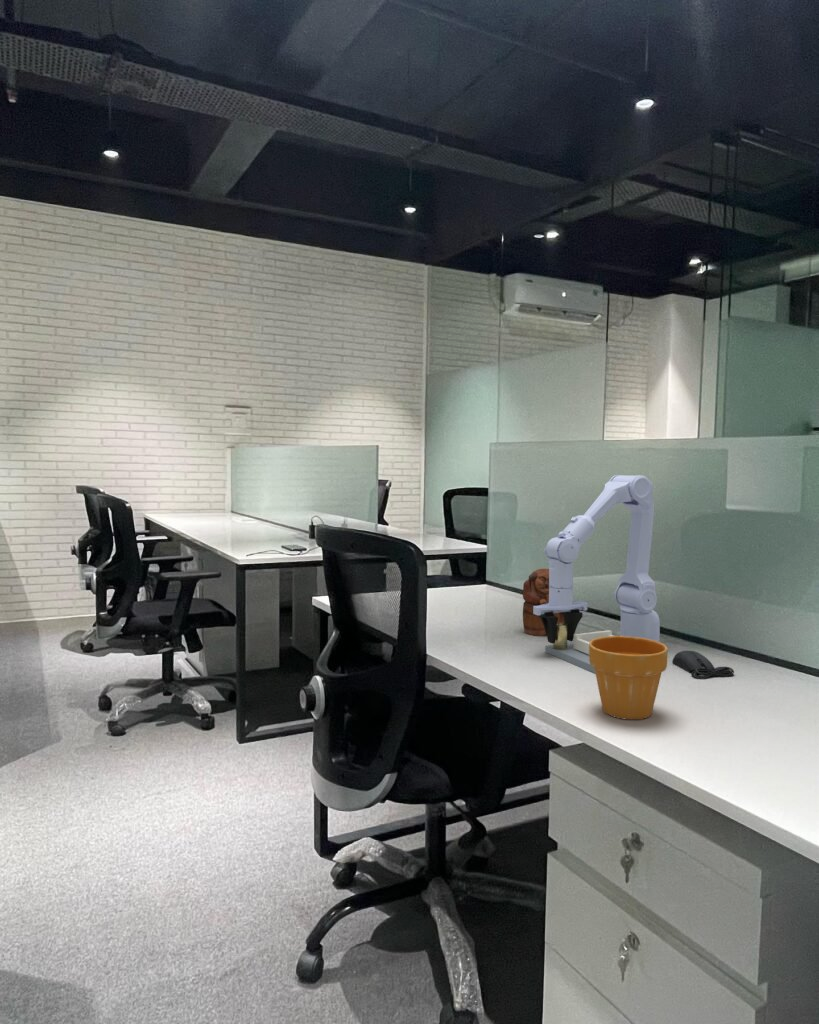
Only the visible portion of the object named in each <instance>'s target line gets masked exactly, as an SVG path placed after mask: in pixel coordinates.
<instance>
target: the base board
mask: <svg viewBox="0 0 819 1024" xmlns="http://www.w3.org/2000/svg"><path fill="white" fill-rule="evenodd" d="M544 652H545V653H547V654H549V655H552V656H553V657H556V658H558V659H560V660H563V661H565V662H567V663H569V664H573V665H575V666H577V667H579V668H581V669H584V670H587V671H589V672H590V673H593V674H594V675H596V673H595V669H594V667H593V666H592V665H591V664H590V661H589V654H586V653H584V652H581V651H579V650H576V649H574V641H571V642H567V649H566V650H556V649H554V648H553V644H550V645H549V644H547V645H545V647H544Z"/></svg>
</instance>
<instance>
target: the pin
mask: <svg viewBox="0 0 819 1024" xmlns="http://www.w3.org/2000/svg"><path fill="white" fill-rule="evenodd" d="M567 633H568V624H566V623H557V625H556V639H555V643H552V645H553V648H554V649H556V650H566V649H567V643H568V640H567Z"/></svg>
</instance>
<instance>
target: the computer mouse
mask: <svg viewBox="0 0 819 1024" xmlns="http://www.w3.org/2000/svg"><path fill="white" fill-rule="evenodd" d="M672 664H673V665H674V666H675V667H677V668H680V669H683V671H685V672H687V673H689V674H691V677H692V678H693V679H695V680H702V679H703V680H704V679H707V678H711V676H712V678H714V677H715V678H718V677H719V678H720V677H722V678H730V677H734V675H735V674H734V673H735V670H734V668H733V667H729V666H717V667H715V666H714V664H713V663H712V662H711V661H710V659H708V658H707V657H706V656H704V655H703V654H701V653H699V652H697V651H695V650H681V651H678V652H677V653H676V654H675V655H674V656H673V659H672Z"/></svg>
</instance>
